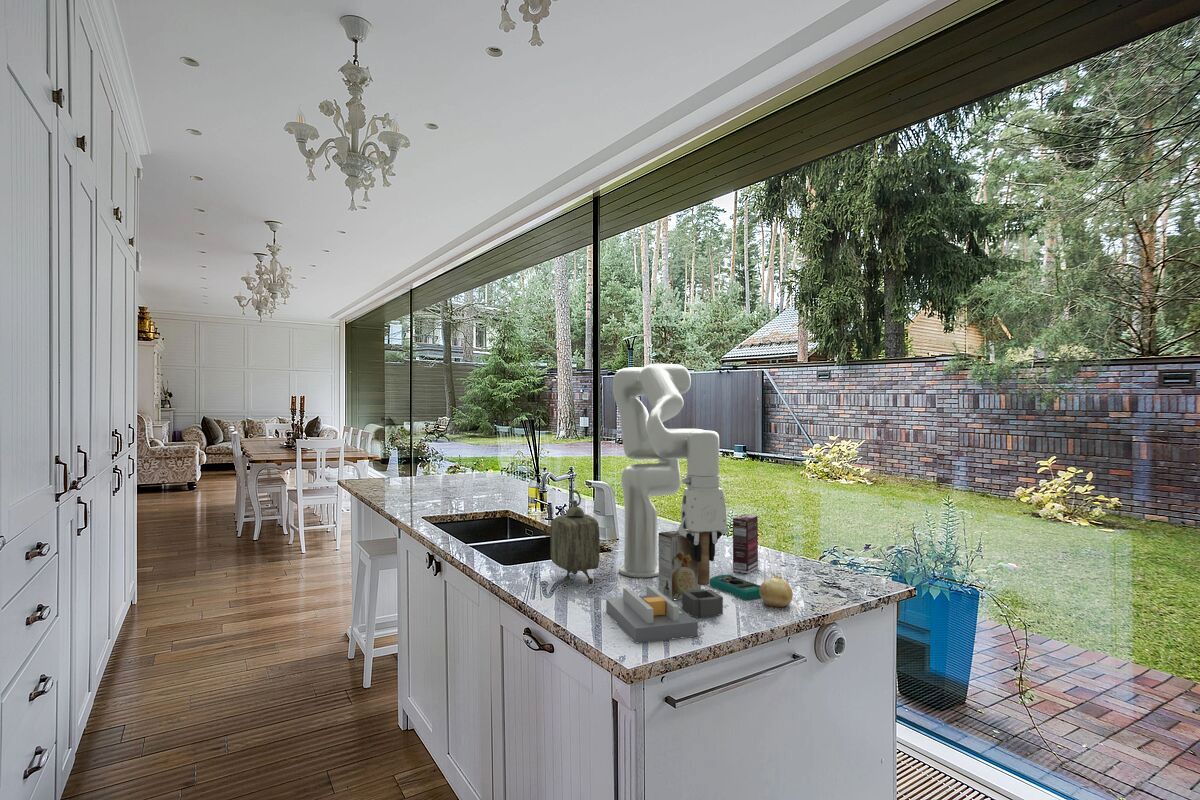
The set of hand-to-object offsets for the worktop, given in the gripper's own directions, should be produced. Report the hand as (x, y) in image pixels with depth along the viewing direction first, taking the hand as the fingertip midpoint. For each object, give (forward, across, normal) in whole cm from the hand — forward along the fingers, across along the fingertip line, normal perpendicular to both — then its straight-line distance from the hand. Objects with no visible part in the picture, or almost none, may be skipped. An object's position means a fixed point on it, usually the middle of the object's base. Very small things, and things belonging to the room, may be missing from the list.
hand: (703, 559), depth 146 cm
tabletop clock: (+12, -23, +33) cm, 42 cm away
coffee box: (+12, 0, +13) cm, 18 cm away
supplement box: (+12, +29, +30) cm, 44 cm away
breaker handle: (+9, -15, -6) cm, 19 cm away
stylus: (+6, 0, 0) cm, 6 cm away
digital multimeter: (+13, +16, +13) cm, 24 cm away
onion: (+13, +20, 0) cm, 24 cm away
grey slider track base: (+12, -15, -4) cm, 20 cm away
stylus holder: (+12, 0, 0) cm, 12 cm away
